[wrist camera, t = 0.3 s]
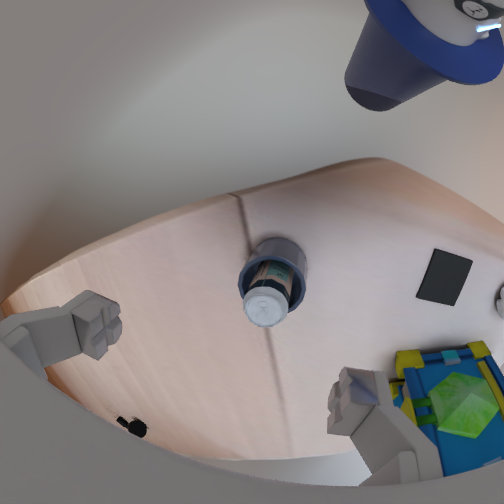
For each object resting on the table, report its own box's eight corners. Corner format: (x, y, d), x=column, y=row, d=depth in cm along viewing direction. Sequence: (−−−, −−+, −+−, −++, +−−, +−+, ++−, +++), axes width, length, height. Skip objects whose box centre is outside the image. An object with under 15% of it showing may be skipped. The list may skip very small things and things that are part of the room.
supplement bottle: (263, 282, 39) (244, 331, 28) (258, 251, 38) (236, 292, 27) (296, 280, 38) (289, 330, 27) (293, 248, 37) (284, 289, 26)
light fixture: (100, 412, 64) (128, 438, 66) (108, 414, 59) (140, 441, 60) (110, 401, 69) (138, 426, 71) (119, 401, 63) (150, 428, 65)
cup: (255, 231, 37) (243, 248, 31) (312, 244, 36) (312, 264, 30) (246, 282, 40) (234, 307, 34) (299, 295, 39) (296, 322, 33)
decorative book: (394, 341, 39) (431, 509, 11) (493, 330, 34) (558, 444, 6) (377, 395, 43) (387, 533, 16) (468, 382, 38) (505, 490, 11)
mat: (434, 248, 32) (436, 249, 32) (471, 260, 31) (473, 261, 31) (415, 296, 35) (416, 298, 35) (452, 304, 34) (453, 306, 34)
